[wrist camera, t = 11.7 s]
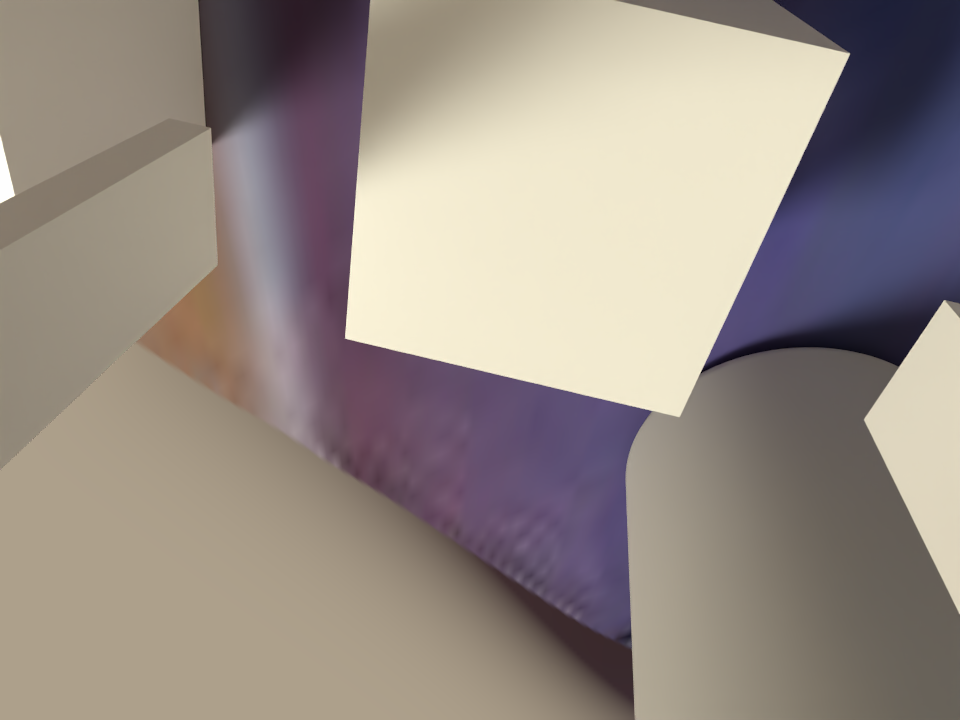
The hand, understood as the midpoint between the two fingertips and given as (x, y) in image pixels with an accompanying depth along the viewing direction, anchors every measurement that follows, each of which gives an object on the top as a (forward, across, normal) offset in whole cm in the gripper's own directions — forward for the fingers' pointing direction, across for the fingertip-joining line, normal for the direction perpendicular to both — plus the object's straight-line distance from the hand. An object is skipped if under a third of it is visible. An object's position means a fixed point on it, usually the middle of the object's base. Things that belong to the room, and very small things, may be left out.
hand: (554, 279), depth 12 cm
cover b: (+11, 0, 0) cm, 11 cm away
